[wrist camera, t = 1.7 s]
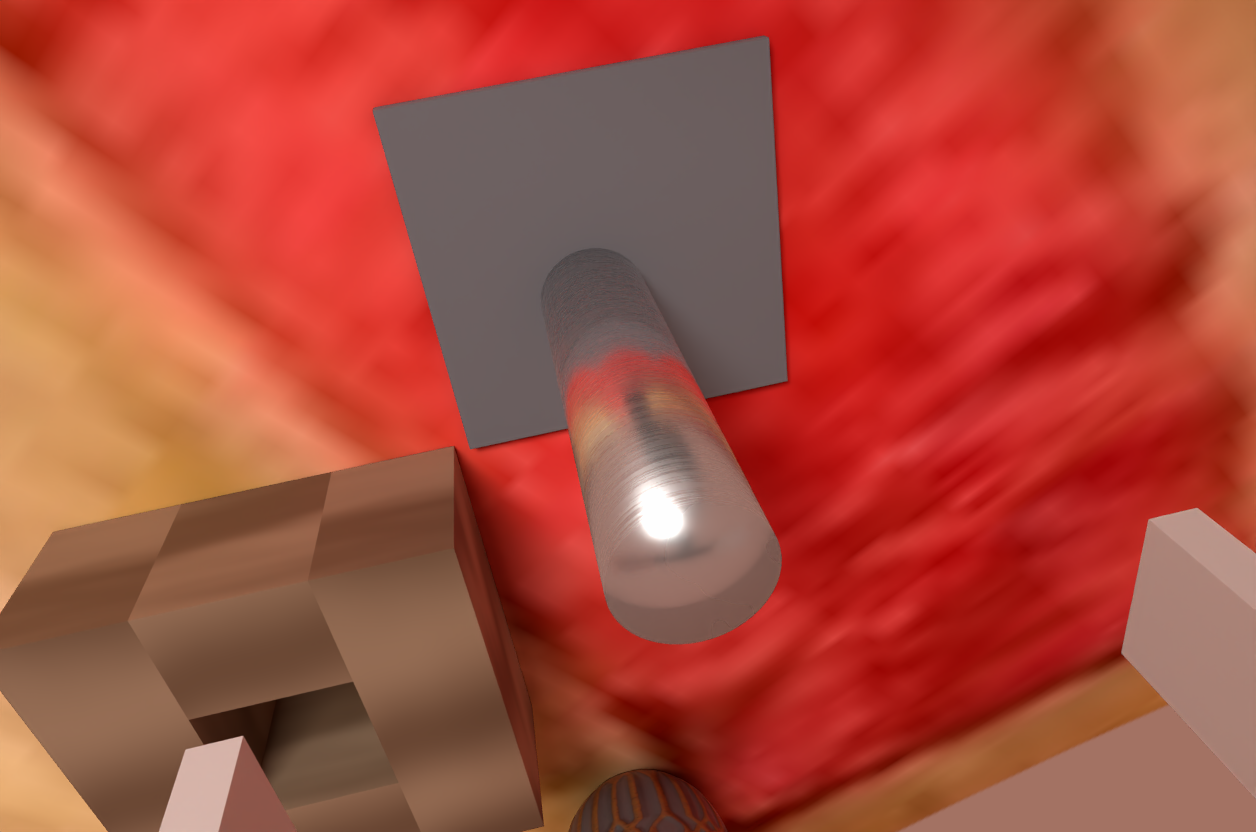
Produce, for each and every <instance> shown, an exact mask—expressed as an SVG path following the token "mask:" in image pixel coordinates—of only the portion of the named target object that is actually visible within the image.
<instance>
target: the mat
mask: <svg viewBox="0 0 1256 832" xmlns="http://www.w3.org/2000/svg"><path fill="white" fill-rule="evenodd" d="M373 114H374V117H375V121H376V124H377V128H378V131H379V135H380V138H381V142H382V145H383V149H384V152H385V156H386V159H387V163H388V166H389V169H390V173H391V176H392V180H393V183H394V187H395V190H396V194H397V197H398V201H399V204H400V208H401V211H402V215H403V218H404V222H405V225H406V228H407V232H408V235H409V239H410V242H411V246H412V249H413V253H414V256H415V260H416V263H417V267H418V270H419V274H420V277H421V280H422V284H423V287H424V291H425V294H426V298H427V301H428V305H429V308H430V312H431V315H432V319H433V322H434V326H435V329H436V333H437V336H438V339H439V343H440V346H441V350H442V353H443V357H444V360H445V364H446V367H447V371H448V374H449V378H450V381H451V385H452V388H453V391H454V395H455V398H456V402H457V405H458V409H459V412H460V416H461V419H462V423H463V426H464V430H465V433H466V437H467V440H468V444H469V447H470V449H474V448H479V447H483V446H488V445H493V444H497V443H502V442H507V441H511V440H516V439H521V438H525V437H530V436H535V435H539V434H544V433H548V432H553V431H558V430H562V429H567V428H568V427H567V422H566V417H565V413H564V408H563V404H562V399H561V395H560V390H559V386H558V381H557V377H556V372H555V367H554V363H553V358H552V354H551V349H550V345H549V340H548V336H547V331H546V327H545V322H544V317H543V313H542V308H541V293H542V288H543V284H544V282H545V280H546V277H547V276H548V274H549V273H550V271H551V270H552V269H553V267H554V266H555V265H556V264H557V263H558V262H559V261H561V260H562V259H563V258H565V257H566V256H568V255H570V254H572V253H574V252H577V251H580V250H584V249H590V248H602V249H608V250H612V251H615V252H617V253H620V254H621V255H623V256H625V257H626V258H628V259H629V260H630V261H631V262H632V263H633V264H634V265H635V266H636V267H637V269H638V270H639V272H640V274H641V275H642V277H643V279H644V281H645V283H646V285H647V287H648V289H649V291H650V293H651V295H652V297H653V299H654V301H655V303H656V305H657V306H658V308H659V310H660V312H661V314H662V316H663V318H664V320H665V322H666V324H667V326H668V328H669V330H670V332H671V334H672V336H673V338H674V339H675V341H676V343H677V345H678V347H679V349H680V351H681V353H682V355H683V357H684V359H685V361H686V363H687V365H688V367H689V369H690V371H691V372H692V374H693V376H694V378H695V380H696V382H697V384H698V386H699V388H700V390H701V392H702V394H703V396H704V398H705V399H706V398H711V397H716V396H720V395H725V394H729V393H734V392H739V391H743V390H748V389H753V388H757V387H762V386H767V385H771V384H776V383H781V382H785V381H787V363H786V344H785V326H784V307H783V289H782V270H781V252H780V233H779V215H778V196H777V178H776V159H775V141H774V122H773V104H772V85H771V67H770V48H769V37H766V36H759V37H754V38H749V39H743V40H738V41H732V42H727V43H721V44H716V45H711V46H705V47H700V48H694V49H689V50H684V51H678V52H673V53H667V54H662V55H656V56H651V57H646V58H640V59H635V60H629V61H624V62H618V63H613V64H608V65H602V66H597V67H591V68H586V69H581V70H575V71H570V72H564V73H559V74H553V75H548V76H543V77H537V78H532V79H526V80H521V81H516V82H510V83H505V84H499V85H494V86H488V87H483V88H478V89H472V90H467V91H461V92H456V93H450V94H445V95H440V96H434V97H429V98H423V99H418V100H413V101H407V102H402V103H396V104H391V105H385V106H380V107H375V108H374V109H373Z"/></svg>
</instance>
